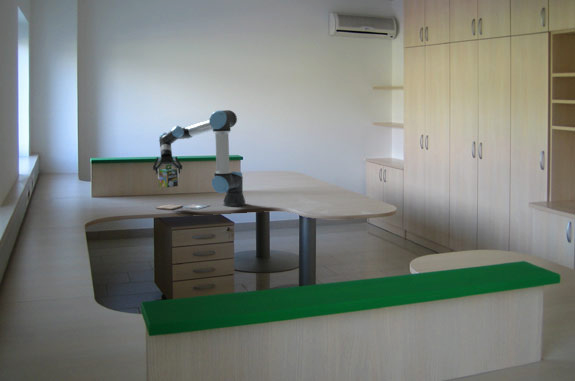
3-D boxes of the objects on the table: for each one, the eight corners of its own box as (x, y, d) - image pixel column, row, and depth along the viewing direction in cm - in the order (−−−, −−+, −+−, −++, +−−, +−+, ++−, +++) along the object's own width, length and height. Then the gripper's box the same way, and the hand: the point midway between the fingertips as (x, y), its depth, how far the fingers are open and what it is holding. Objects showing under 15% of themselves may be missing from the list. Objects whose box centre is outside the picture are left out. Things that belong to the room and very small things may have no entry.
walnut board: (183, 207, 432) (183, 205, 432) (172, 210, 420) (171, 208, 420) (167, 205, 437) (167, 204, 437) (155, 208, 426) (155, 207, 426)
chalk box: (169, 185, 433) (168, 163, 431) (178, 186, 428) (177, 164, 425) (158, 186, 426) (157, 164, 424) (167, 187, 421) (167, 165, 418)
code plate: (209, 205, 435) (209, 205, 435) (198, 209, 423) (198, 208, 423) (192, 204, 441) (192, 204, 441) (180, 207, 429) (180, 207, 429)
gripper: (183, 155, 442) (186, 180, 429) (147, 156, 436) (149, 181, 423) (184, 148, 436) (187, 173, 424) (148, 149, 430) (149, 174, 418)
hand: (168, 177), depth 423 cm, fingers closed on chalk box, 12 cm apart
